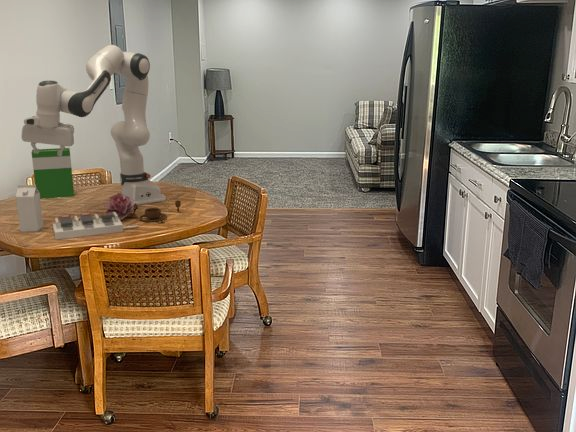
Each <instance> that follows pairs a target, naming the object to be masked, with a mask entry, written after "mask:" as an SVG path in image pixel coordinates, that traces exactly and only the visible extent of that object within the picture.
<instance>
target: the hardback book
mask: <svg viewBox="0 0 576 432" xmlns="http://www.w3.org/2000/svg"><path fill="white" fill-rule="evenodd" d="M38 149H39V153H38V154H37V153H34V149H32V150H31V152H30V154H31V159H32V168H33V169H32V170H33V177H34V185H36V188H37V190H38V191H39V192H40V200H43V199H42V198H46V199H56V198H58V197H60V198H68V197H70V198H71V197H75V189H74V181H73V170H72V160H71V149H70V147H65V148H64V150H63V151H62V156H57V152H58V151H60V150H61V148H60V147H58V148H38Z"/></svg>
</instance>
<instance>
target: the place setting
mask: <svg viewBox="0 0 576 432" xmlns="http://www.w3.org/2000/svg"><path fill="white" fill-rule="evenodd" d="M174 202H175V203H174V205H175V207H176V208H177V209H176V211H177V212H180V208H181V205H182V204H181V200H175V201H174ZM162 213H163V212H162V209H161V208H159V207H150V208H149V207H148V208H146V209H144V214H142V215H140V216H139V221H141V222H142V221H143V223H147V222H155V223H159V221H161V222H163V223H162V224H164V223H165V221H166V220H167V218H168V217H167V214H166V213H163V214H162ZM161 216H164V217H165V218H164V217H162V218H160V217H161ZM143 217H145V218H146V219H144V218H143ZM142 218H143V219H142ZM156 219H157V220H156ZM165 219H166V220H165ZM163 220H164V221H163Z"/></svg>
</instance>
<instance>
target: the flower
mask: <svg viewBox="0 0 576 432" xmlns="http://www.w3.org/2000/svg"><path fill="white" fill-rule="evenodd" d="M134 201H135V200H134V199H133V200H132V201H130V198H129V197H128V196H125V195H123V194H121V193H117V194H114V195H112V196H110V197H109V201H108V204H103V207H104V208H105V209H107V210H105V214H113V212H116V214H117V215H118V218H119V220H120V221H121V220H124V218H125V217H127V216H128V214H129V213H132V218H133V217H134V216H135V215H134V214H135V212H136V211H137V210H138V209H139V205H137V204H134Z"/></svg>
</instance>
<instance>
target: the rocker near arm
mask: <svg viewBox="0 0 576 432" xmlns="http://www.w3.org/2000/svg"><path fill="white" fill-rule="evenodd" d="M110 218H113V214H106V213H101V214H100V216H99V219H110Z"/></svg>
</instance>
